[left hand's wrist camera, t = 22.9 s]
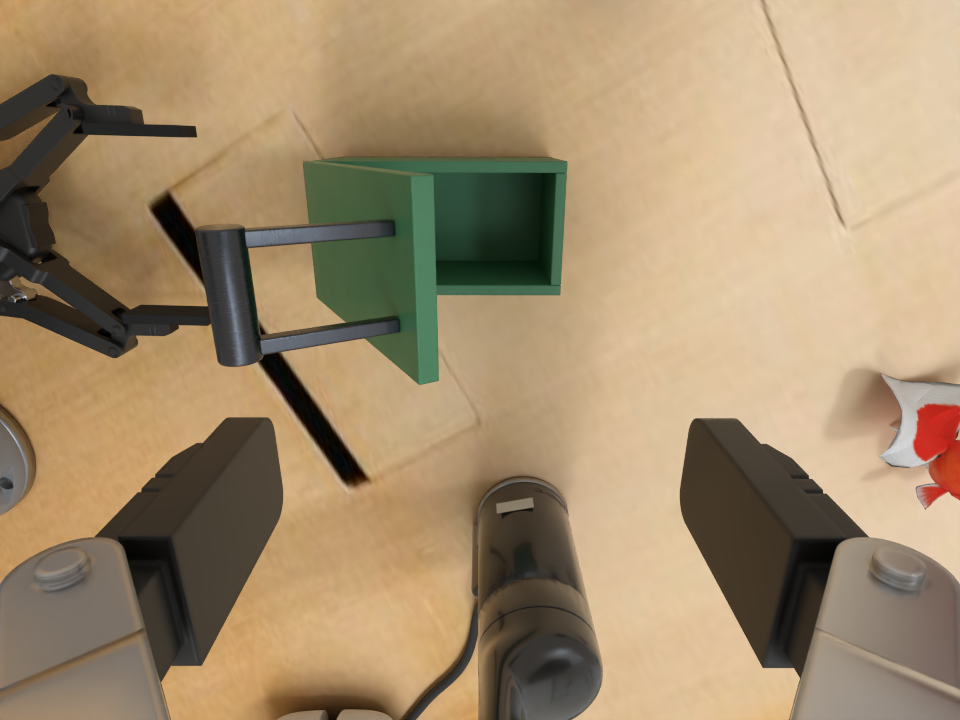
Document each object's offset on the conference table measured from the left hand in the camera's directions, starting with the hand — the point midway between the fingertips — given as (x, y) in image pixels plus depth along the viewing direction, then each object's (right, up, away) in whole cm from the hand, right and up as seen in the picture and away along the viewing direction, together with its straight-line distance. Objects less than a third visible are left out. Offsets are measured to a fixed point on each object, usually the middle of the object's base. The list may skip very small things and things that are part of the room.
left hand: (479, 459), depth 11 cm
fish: (+42, -4, +45) cm, 62 cm away
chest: (-3, +14, +38) cm, 40 cm away
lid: (-6, +8, +21) cm, 23 cm away
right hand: (-21, +12, +32) cm, 40 cm away
